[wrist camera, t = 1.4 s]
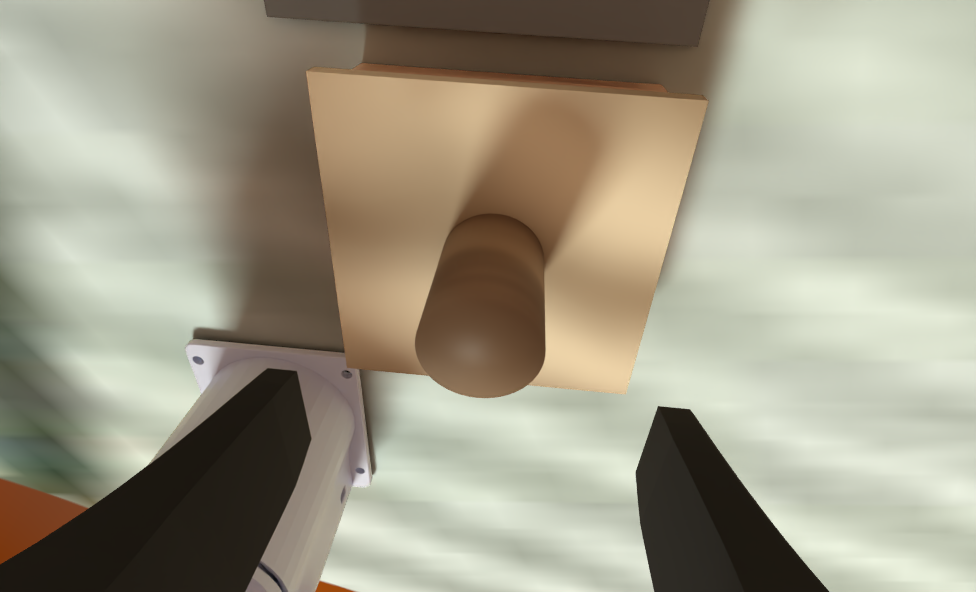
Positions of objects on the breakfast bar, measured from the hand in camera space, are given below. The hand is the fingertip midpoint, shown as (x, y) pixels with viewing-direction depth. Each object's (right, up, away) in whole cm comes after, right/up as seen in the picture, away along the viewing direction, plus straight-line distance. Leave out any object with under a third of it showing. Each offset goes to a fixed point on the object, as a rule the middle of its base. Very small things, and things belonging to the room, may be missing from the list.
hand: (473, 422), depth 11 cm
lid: (0, +4, +6) cm, 7 cm away
